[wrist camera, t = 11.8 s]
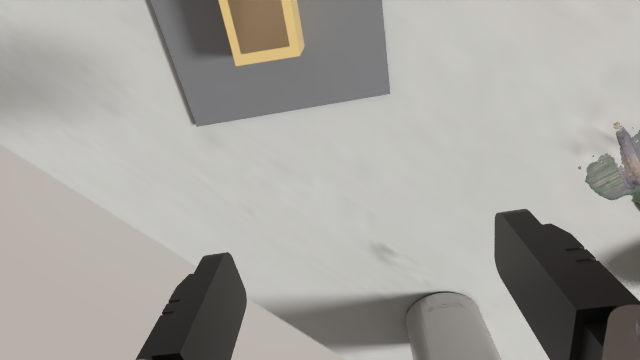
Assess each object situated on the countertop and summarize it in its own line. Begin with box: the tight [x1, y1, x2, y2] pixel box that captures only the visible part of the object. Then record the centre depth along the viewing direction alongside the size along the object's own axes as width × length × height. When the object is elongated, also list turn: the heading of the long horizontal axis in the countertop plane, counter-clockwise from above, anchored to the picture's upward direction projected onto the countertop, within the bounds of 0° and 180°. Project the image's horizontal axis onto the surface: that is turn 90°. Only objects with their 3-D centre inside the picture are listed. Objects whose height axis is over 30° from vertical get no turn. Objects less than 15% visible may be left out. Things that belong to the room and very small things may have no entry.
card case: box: [218, 0, 305, 66], centre depth 26 cm, size 5×8×4 cm, turn 9°
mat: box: [150, 0, 390, 126], centre depth 28 cm, size 18×18×1 cm
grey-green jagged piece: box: [578, 122, 640, 203], centre depth 33 cm, size 20×8×1 cm, turn 43°
